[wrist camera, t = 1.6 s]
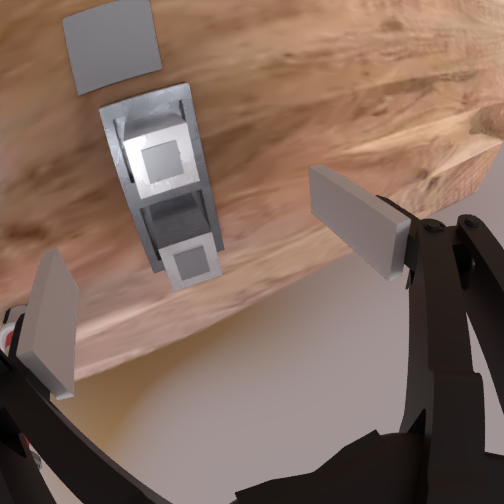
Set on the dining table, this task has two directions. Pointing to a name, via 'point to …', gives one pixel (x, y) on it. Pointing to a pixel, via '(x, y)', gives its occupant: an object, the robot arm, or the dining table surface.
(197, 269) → the silver square post
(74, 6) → the dining table surface
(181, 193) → the rail
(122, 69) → the mat
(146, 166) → the grey square peg
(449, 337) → the robot arm
